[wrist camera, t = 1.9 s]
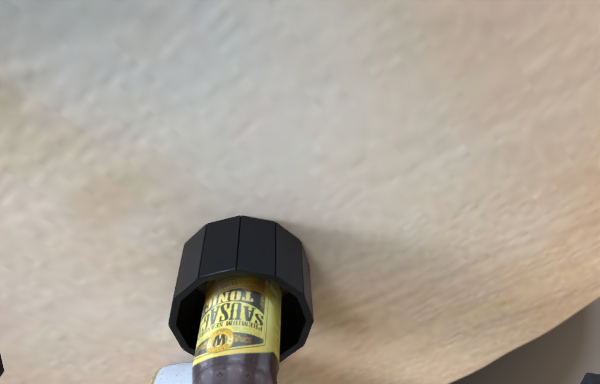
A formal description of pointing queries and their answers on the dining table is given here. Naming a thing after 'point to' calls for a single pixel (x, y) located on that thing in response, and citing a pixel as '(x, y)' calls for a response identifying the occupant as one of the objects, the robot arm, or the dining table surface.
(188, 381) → the ceramic mug
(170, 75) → the dining table surface
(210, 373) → the sauce bottle
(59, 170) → the dining table surface
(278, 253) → the cup
